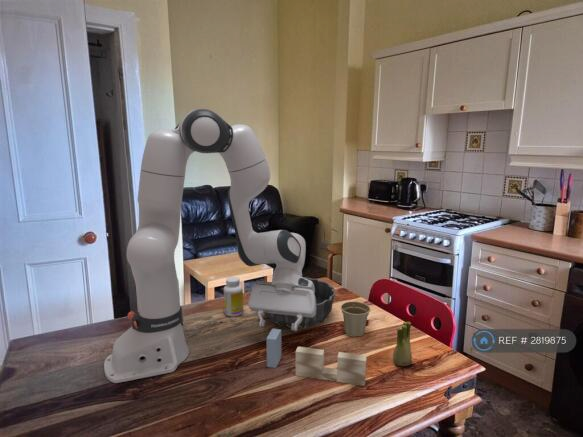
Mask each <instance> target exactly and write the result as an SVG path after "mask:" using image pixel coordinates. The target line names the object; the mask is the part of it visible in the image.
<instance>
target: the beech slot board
mask: <svg viewBox="0 0 583 437" xmlns="http://www.w3.org/2000/svg"><path fill="white" fill-rule="evenodd" d="M336 364H337V365H336V368H333V367H327V366H326V367H325V349H319V348H313V347H305V346H297V348H296V350H295V376H297V377H302V376H303V378H309V377H310V379H315V378H316V379H315V380H322V379H323V380H322V381H328V380H329V382H335V381H336V383H344V384H348V385H350V384H351V385H354V386H363V387H365V386H366V377H367V375H366V373H367V355H366V354H365V355H364V354H357V353H349V352H341V351H338V354H337V362H336Z"/></svg>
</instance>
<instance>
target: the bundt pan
mask: <svg viewBox="0 0 583 437" xmlns="http://www.w3.org/2000/svg"><path fill="white" fill-rule="evenodd" d="M302 277H303V276H302ZM303 278H305V279H308V280H310V281H312V282H313V284H314V287H315V293H314V294H315V297H316V315H315V316H314V317H313V318H310V317H303V320H302V322H301V323H300V324H299V325H298V327H300V328H302V329H305V328H306V327H307V326H309V327H314V326H317V325H318V324H319V323H320V324H321V323H324V322H325V321H326V320H327V319H328V316H329V315H330V314H331V312H332V310H333V303H334V298H335V297H336V291H335V287H334V286H332V285H331V284H330V283H329V282H327V281H325V280H320V279H318V278H310V277H306V276H305V277H303ZM264 315H266V316H267V317H268V319H269V320H270V321H271V322H272V323H276V324H277V325H278V326H279V327H285V326H286V327H288V328H289V329H291V327H292V323H295V322H296V321H297V319H298V318H297V316H292V315H283V314H274V313H265V314H264Z"/></svg>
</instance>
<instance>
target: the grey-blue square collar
mask: <svg viewBox="0 0 583 437" xmlns="http://www.w3.org/2000/svg"><path fill="white" fill-rule="evenodd" d="M265 340H266V368H272V369H273V368H274V369H276V368H277V367H278V366H279V362H280V360H281V359H282V329H280V328H279V329H278V328H271V330H270V332H269V334H268V335H267V337H266V338H265Z"/></svg>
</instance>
